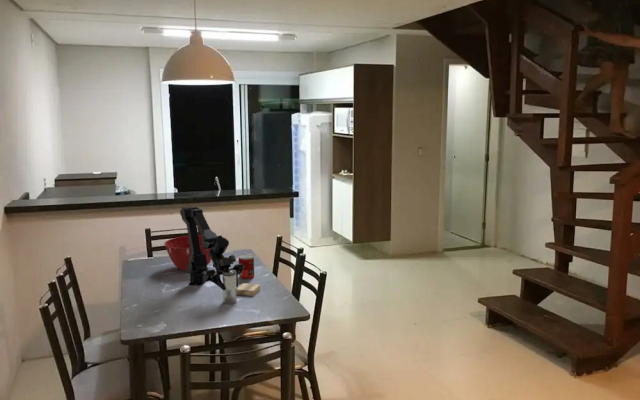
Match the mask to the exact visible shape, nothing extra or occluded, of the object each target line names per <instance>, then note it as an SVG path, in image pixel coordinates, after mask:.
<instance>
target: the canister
mask: <svg viewBox="0 0 640 400" xmlns="http://www.w3.org/2000/svg"><path fill="white" fill-rule="evenodd" d="M222 274H223V275H222V283H223V285H224V288H225V290H222V298H223V299H222V302H223V303H224V304H225V305H226V304H227V305H231V304H235V303H236V302H238V301H237V300H238V299H237V291H236V288H237V287H236V271H235V270H225V271H223V272H222Z"/></svg>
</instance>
